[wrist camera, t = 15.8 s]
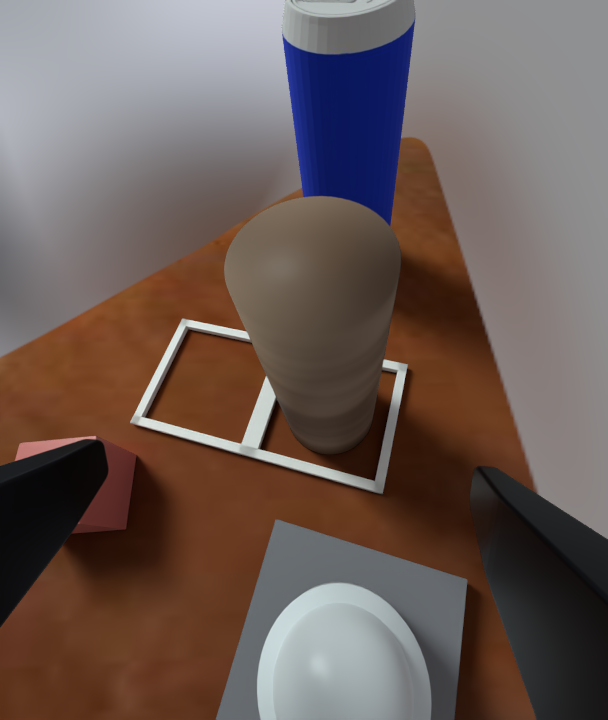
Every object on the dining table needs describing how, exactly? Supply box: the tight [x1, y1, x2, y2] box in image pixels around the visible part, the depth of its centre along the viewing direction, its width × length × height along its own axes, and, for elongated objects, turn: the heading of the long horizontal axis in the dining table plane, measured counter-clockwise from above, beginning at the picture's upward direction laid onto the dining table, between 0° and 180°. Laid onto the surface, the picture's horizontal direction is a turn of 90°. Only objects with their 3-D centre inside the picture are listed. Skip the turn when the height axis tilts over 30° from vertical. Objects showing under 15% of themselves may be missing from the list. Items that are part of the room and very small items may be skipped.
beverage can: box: [282, 0, 415, 226], centre depth 21 cm, size 5×5×15 cm
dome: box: [257, 581, 432, 720], centre depth 13 cm, size 6×6×5 cm
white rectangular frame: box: [130, 319, 408, 494], centre depth 23 cm, size 8×15×1 cm, turn 74°
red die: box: [15, 436, 136, 534], centre depth 20 cm, size 4×4×4 cm
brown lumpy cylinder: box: [224, 196, 401, 455], centre depth 17 cm, size 5×5×13 cm
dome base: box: [216, 519, 467, 720], centre depth 16 cm, size 9×9×1 cm
